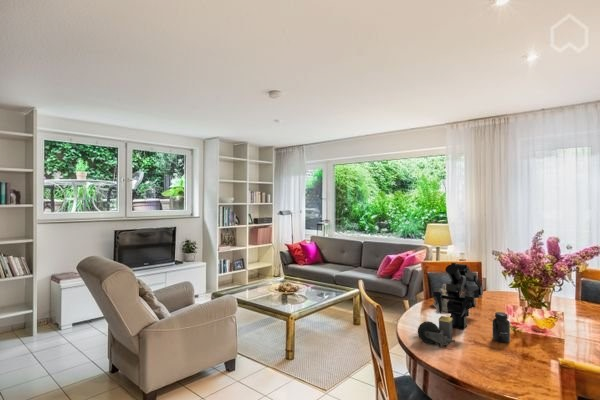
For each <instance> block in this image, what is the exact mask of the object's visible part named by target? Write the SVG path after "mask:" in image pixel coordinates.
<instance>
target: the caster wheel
mask: <svg viewBox="0 0 600 400" xmlns="http://www.w3.org/2000/svg"><path fill="white" fill-rule="evenodd" d="M417 335H418V337H419V339H420V340H421V341H422V342H423V343H425V344H429V345H431V344H435V343H438V344H439V345H440V348H441V347H442V348H444V346H448V344H450V343H449V342H451V343H453V344H454V343H456V340H455V339H452V340H450V339H448V338H447V336H445V334H444V330H439V326H437V324H436V323H434V322H432V321H429V320H428V321H423V322H422V323H420V324H419V326H418V328H417Z"/></svg>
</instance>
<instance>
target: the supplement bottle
mask: <svg viewBox="0 0 600 400" xmlns="http://www.w3.org/2000/svg"><path fill="white" fill-rule="evenodd" d="M508 319H509V318H508V314H507V313H506V312H501V311H496V312H495V313H494V318H493V319H492V339H493V341H494V342H497V343H500V344H508V343H510V341H511V322H510V321H509V320H508Z"/></svg>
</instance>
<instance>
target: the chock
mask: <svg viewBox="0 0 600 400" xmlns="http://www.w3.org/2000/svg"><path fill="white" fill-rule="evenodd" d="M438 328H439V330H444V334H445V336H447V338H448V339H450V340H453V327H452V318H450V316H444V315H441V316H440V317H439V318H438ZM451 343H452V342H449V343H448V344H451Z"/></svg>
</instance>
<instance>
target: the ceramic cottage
mask: <svg viewBox="0 0 600 400" xmlns="http://www.w3.org/2000/svg"><path fill="white" fill-rule="evenodd" d="M446 284H447V283H443V284H442V286H441V287H442V288H439V290H438V291H441V292H442V294H443V295H448V294H447V293H446V292H447V291H446ZM448 301H449V300H447V299H443V301H442V302H443V306H442V311H441V312H445V313H448V310H447V302H448ZM432 305H433V306H434V307H435V309H436V310H437V311H439V305H438V303H437V302H436V301H435V300H434V302H433V303H432Z"/></svg>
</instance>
